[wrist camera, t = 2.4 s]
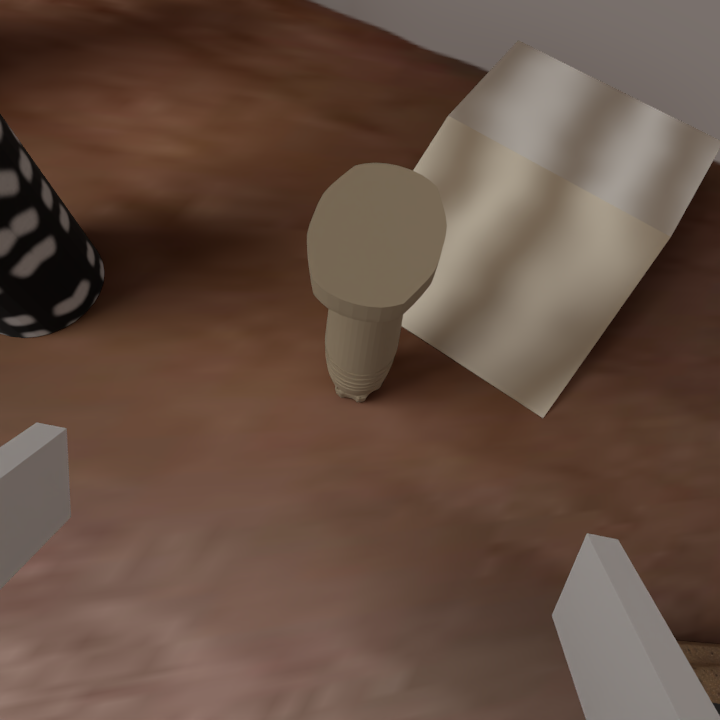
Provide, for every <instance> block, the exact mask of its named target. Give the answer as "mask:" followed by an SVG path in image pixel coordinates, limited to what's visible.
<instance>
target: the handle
mask: <svg viewBox="0 0 720 720" xmlns="http://www.w3.org/2000/svg"><path fill="white" fill-rule="evenodd" d="M446 229H447V222H446V215H445V211H444V208H443V204H442V201H441V198H440V194H439V191H438V188H437V186H436V185H434V184H433V183H432V182H431V181H430V180H428V179H427V178H426V177H424V176H423V175H421V174H419V173H417V172H415V171H412V170H410V169H407V168H404V167H401V166H396V165H391V164H386V163H366V164H360V165H355V166H354V167H353V168H351V169H350V170H349V171H348V172H346V173H345V174H344V175H343V176H341V177H340V178H339V179H338V180H337V181H335V182H334V183H333V184H332V185H331V186H330V187H329V188H328V189H327V190H326V191H325V192H324V193H323V195H322V197H321V199H320V201H319V202H318V205H317V207H316V210H315V212H314V215H313V217H312V220H311V222H310V225H309V229H308V232H307V255H308V264H309V272H310V278H311V284H312V289H313V294H314V295H315V296H316V298H317V299H318V300H319V301H320V302H321V303H322V304H324V305H325V306H326V307H327V308H328V309H329V310H328V318H327V326H326V334H325V353H326V362H327V367H328V371H329V374H330V377H331V379H332V381H333V383H334V384H335V390H336V393H337V394H338V395H339V396H340V397H341V398H343V397H348V398H352V399H354V400H356V402H363V401H365V399H366V397H367V396H368V395H369V394H370V393H371V392H373V391H374V390H378V389H379V388H380V387H381V385H382V383H383V381H384V379H385V378H386V376H387V374H388V372H389V370H390V368H391V365H392V363H393V360H394V357H395V354H396V351H397V348H398V343H399V337H400V331H401V325H402V319H403V314H404V313H405V312H406V311H407V310H408V309H409V308H410V307H412V306H413V305H414V304H415V302H416V301H417V300H418V299H419V298H420V297H421V296H422V295H423V293H424V292H425V291H426V290H427V288H428V287H429V286H430V285H431V283H432V280H433V278H434V275H435V272H436V269H437V266H438V263H439V260H440V256H441V252H442V248H443V245H444V241H445V237H446Z"/></svg>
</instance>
